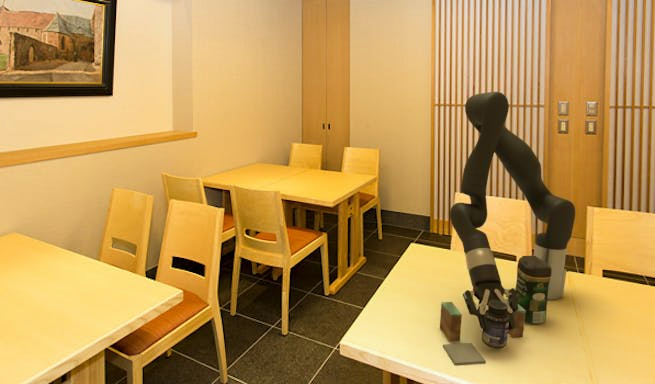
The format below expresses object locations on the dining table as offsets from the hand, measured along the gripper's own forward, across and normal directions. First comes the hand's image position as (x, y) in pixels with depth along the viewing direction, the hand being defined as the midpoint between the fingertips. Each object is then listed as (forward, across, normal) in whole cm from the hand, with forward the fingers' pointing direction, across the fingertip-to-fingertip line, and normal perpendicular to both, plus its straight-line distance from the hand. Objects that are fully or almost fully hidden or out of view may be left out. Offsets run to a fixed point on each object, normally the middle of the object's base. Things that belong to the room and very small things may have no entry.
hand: (498, 329), depth 110 cm
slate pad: (+5, -9, +5) cm, 11 cm away
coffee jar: (-6, +18, +16) cm, 25 cm away
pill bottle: (+2, 0, +5) cm, 5 cm away
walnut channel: (-2, 0, +12) cm, 12 cm away
